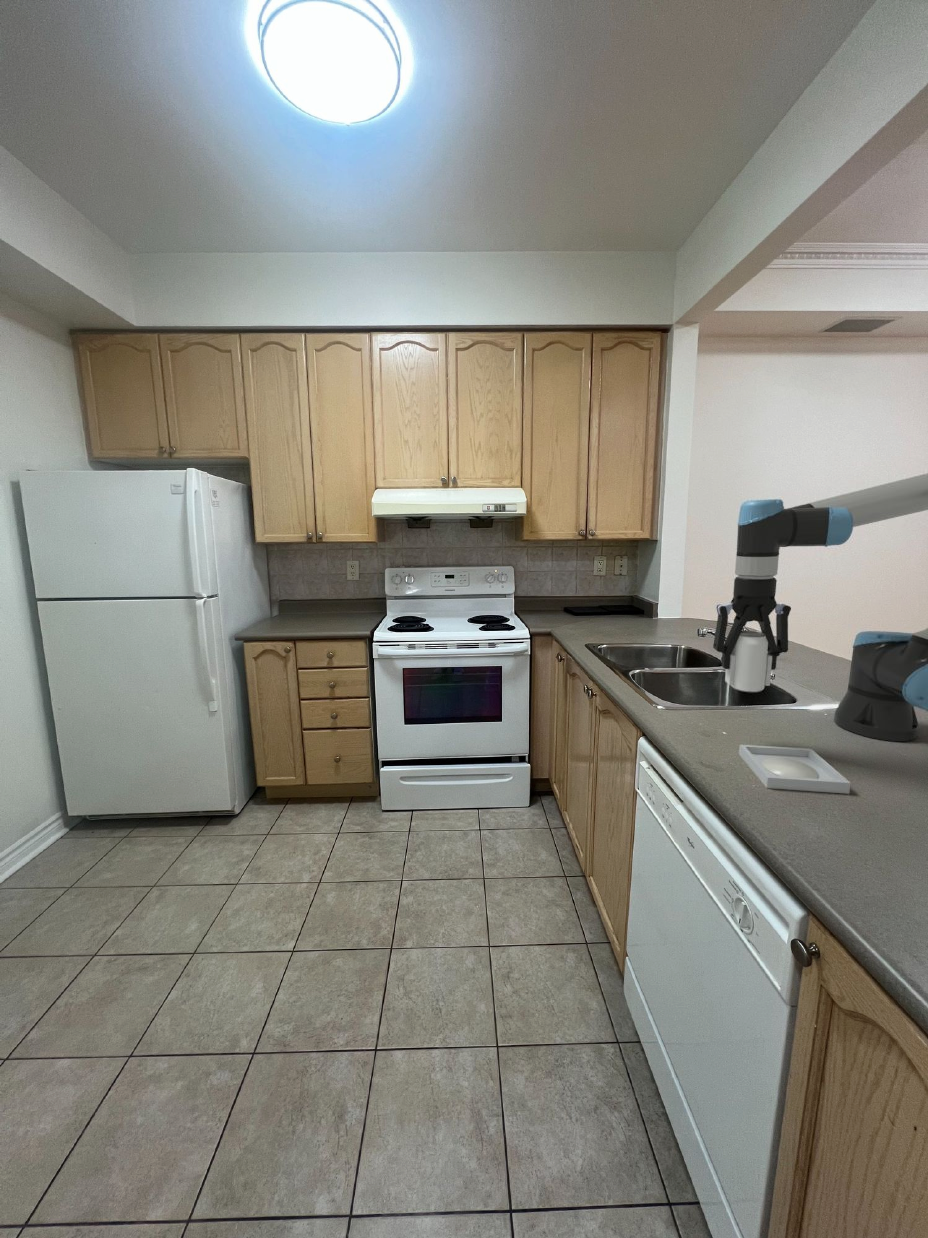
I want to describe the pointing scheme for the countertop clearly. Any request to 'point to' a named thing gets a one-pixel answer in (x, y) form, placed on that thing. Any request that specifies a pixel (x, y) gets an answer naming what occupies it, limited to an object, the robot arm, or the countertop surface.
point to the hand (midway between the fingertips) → (747, 683)
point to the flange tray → (793, 769)
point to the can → (750, 661)
